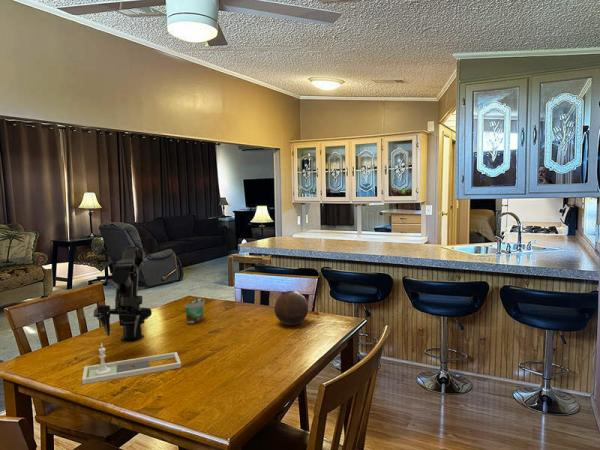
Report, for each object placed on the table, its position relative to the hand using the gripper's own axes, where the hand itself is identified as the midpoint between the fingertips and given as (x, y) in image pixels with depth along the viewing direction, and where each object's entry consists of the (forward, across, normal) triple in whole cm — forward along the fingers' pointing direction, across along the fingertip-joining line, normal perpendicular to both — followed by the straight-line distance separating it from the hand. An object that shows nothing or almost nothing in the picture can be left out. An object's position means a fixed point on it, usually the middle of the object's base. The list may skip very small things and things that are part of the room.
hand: (122, 336), depth 150 cm
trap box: (+12, +3, -4) cm, 13 cm away
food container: (-14, +40, +23) cm, 48 cm away
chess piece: (+13, -6, -1) cm, 14 cm away
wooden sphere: (-5, +71, -6) cm, 71 cm away
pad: (+13, -6, -1) cm, 14 cm away
